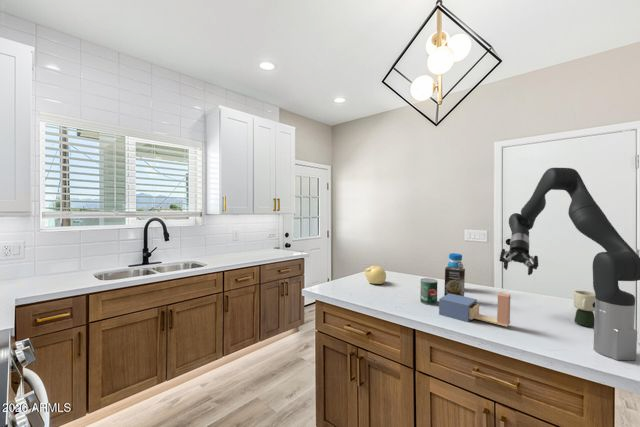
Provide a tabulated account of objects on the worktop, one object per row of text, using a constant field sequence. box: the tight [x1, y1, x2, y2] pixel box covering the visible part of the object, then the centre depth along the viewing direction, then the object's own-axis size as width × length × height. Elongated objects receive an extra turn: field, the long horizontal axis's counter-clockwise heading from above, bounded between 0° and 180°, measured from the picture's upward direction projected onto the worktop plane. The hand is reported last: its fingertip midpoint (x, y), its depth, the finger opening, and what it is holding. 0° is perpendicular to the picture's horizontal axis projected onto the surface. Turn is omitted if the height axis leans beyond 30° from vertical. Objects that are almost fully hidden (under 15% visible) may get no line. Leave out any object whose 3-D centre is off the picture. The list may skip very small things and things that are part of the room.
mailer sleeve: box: [438, 293, 478, 323], centre depth 131 cm, size 12×11×7 cm
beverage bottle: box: [446, 252, 464, 269], centre depth 169 cm, size 8×8×20 cm
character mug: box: [573, 290, 595, 328], centre depth 120 cm, size 11×7×13 cm, turn 135°
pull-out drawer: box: [469, 292, 511, 327], centre depth 125 cm, size 23×9×12 cm, turn 46°
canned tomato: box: [419, 277, 439, 306], centre depth 147 cm, size 8×8×11 cm
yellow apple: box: [364, 264, 387, 285], centre depth 182 cm, size 12×12×11 cm
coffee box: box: [443, 266, 466, 297], centre depth 150 cm, size 9×6×16 cm
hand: (517, 271), depth 129 cm, fingers open, 8 cm apart
